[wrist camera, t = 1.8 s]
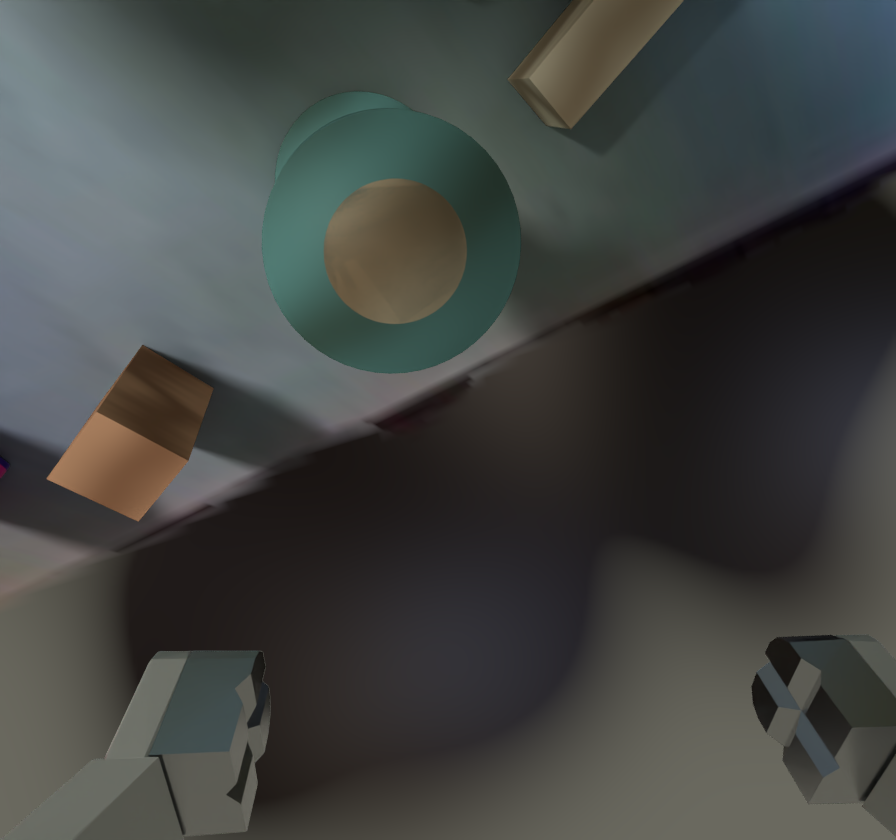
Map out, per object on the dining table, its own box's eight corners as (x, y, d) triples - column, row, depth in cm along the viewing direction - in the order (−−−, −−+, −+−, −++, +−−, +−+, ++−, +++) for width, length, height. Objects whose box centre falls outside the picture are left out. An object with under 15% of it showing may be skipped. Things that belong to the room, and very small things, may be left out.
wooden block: (101, 400, 38) (46, 479, 30) (142, 344, 37) (96, 411, 29) (172, 439, 40) (138, 521, 33) (213, 388, 39) (188, 460, 31)
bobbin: (241, 195, 34) (184, 273, 19) (349, 47, 31) (377, 7, 17) (374, 301, 38) (410, 429, 24) (478, 180, 36) (588, 239, 21)
